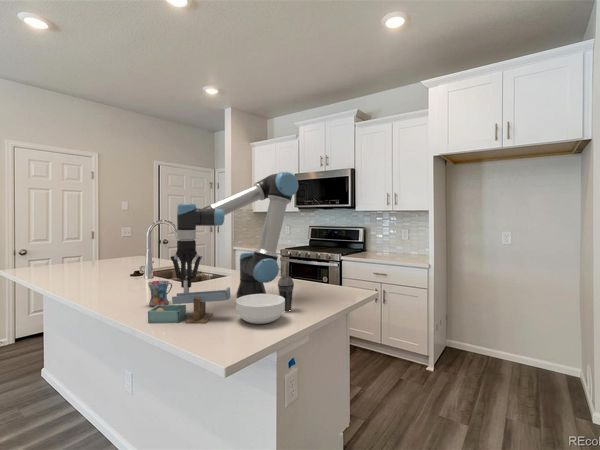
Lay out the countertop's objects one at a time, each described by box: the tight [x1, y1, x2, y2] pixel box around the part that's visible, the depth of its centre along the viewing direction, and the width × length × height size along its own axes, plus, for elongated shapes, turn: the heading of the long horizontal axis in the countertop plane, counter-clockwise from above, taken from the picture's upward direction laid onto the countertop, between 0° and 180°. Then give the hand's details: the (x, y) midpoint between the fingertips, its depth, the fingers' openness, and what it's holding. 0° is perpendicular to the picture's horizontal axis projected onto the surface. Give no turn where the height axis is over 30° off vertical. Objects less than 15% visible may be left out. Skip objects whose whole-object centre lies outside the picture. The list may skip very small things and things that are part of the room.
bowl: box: [235, 293, 285, 325], centre depth 133 cm, size 20×20×8 cm
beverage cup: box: [277, 265, 295, 312], centre depth 146 cm, size 7×7×20 cm
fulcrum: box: [185, 298, 214, 324], centre depth 134 cm, size 8×11×10 cm
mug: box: [147, 280, 173, 307], centre depth 155 cm, size 12×9×11 cm
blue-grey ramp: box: [171, 286, 231, 305], centre depth 137 cm, size 22×13×4 cm, turn 92°
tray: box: [147, 304, 187, 324], centre depth 134 cm, size 12×9×4 cm
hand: (186, 295), depth 140 cm, fingers closed
